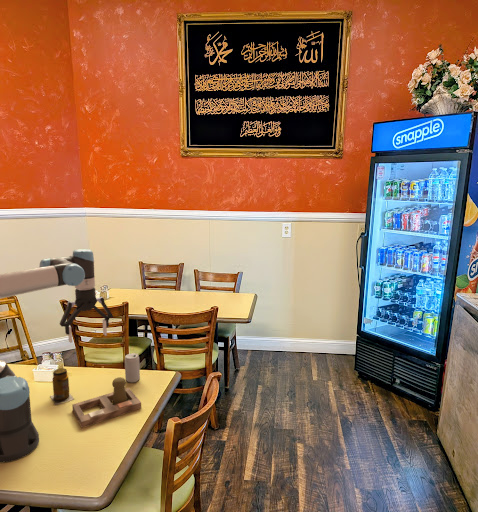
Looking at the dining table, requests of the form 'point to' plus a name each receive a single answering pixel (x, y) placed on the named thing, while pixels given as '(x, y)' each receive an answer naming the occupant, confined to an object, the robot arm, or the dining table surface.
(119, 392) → the cork
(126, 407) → the caddy
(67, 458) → the dining table surface
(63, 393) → the condiment
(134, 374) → the beverage can
